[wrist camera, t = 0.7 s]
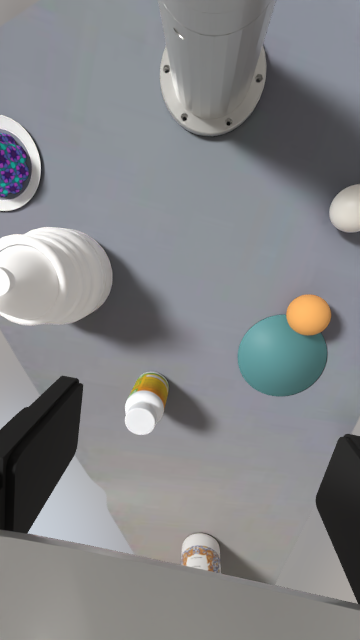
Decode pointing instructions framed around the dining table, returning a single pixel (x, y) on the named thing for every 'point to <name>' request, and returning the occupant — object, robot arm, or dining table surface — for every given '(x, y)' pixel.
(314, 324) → the orange ball
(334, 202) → the white ball
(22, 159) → the pudding
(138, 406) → the supplement bottle
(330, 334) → the dining table surface
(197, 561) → the bath foam
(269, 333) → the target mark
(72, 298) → the honey pot
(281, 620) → the robot arm
